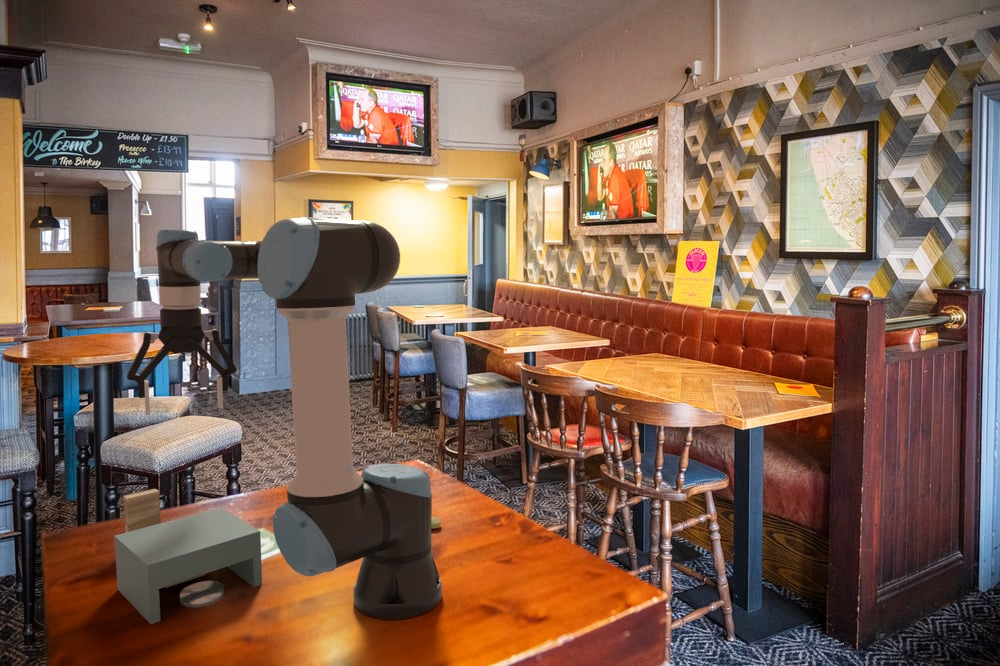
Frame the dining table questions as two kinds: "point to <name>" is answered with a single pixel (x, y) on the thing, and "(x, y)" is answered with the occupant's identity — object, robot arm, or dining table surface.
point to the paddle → (143, 513)
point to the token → (201, 594)
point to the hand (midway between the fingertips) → (184, 410)
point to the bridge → (184, 555)
